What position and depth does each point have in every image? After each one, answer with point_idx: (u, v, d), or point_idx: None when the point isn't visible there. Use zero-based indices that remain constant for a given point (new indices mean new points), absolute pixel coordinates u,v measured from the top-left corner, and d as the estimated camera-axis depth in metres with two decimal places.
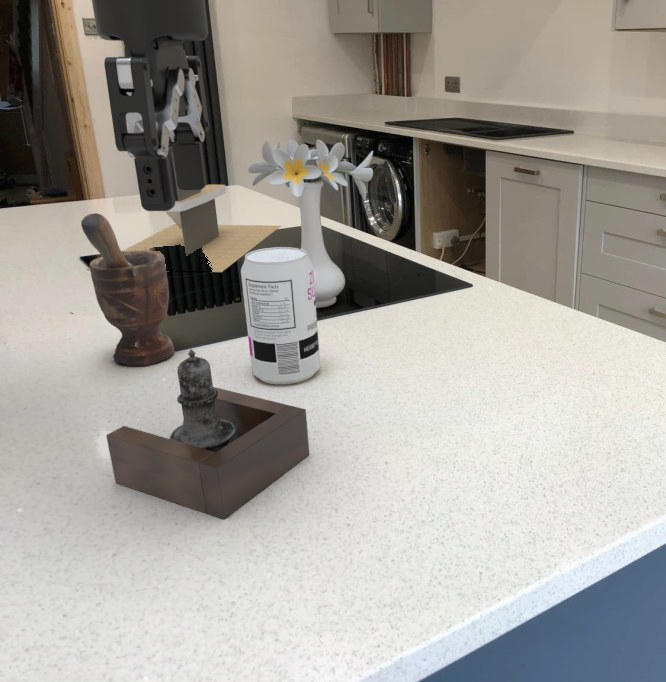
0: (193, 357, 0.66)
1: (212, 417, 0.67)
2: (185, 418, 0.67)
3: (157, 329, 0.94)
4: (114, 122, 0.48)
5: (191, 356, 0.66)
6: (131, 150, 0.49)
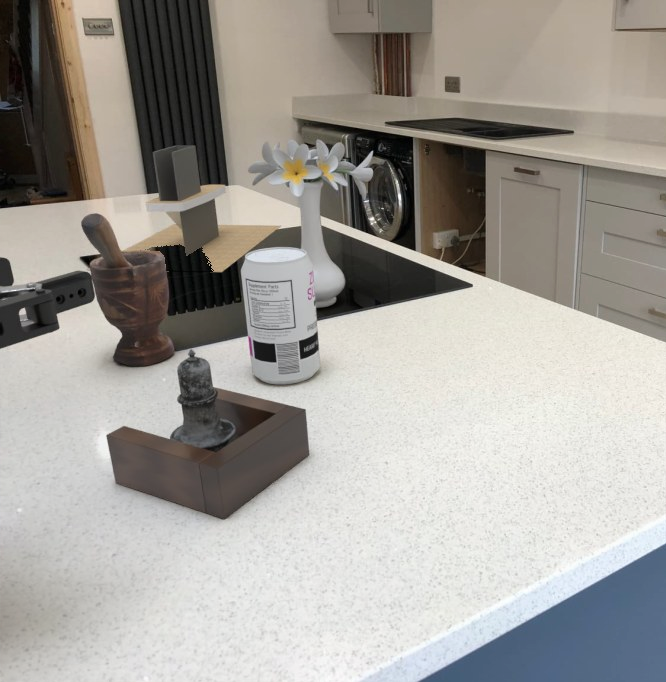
0: (193, 357, 0.66)
1: (212, 417, 0.67)
2: (185, 418, 0.67)
3: (157, 329, 0.94)
4: None
5: (191, 356, 0.66)
6: None
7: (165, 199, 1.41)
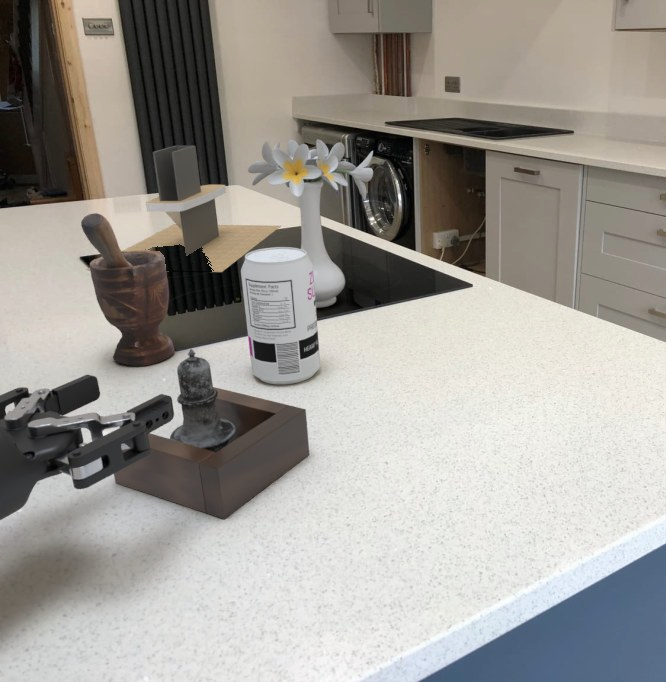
0: (193, 357, 0.66)
1: (212, 417, 0.67)
2: (185, 418, 0.67)
3: (157, 329, 0.94)
4: None
5: (191, 356, 0.66)
6: None
7: (165, 199, 1.41)
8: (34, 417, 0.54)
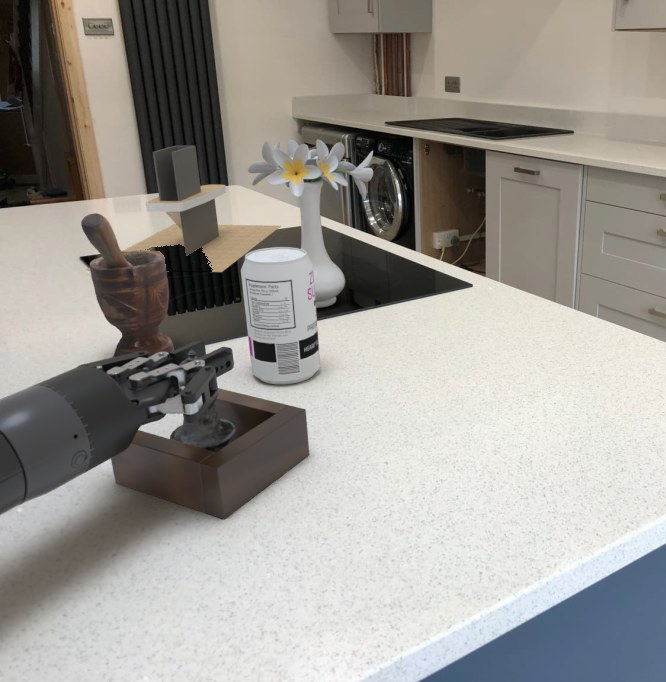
0: (193, 357, 0.66)
1: (212, 417, 0.67)
2: None
3: (157, 329, 0.94)
4: (124, 355, 0.65)
5: (191, 356, 0.66)
6: None
7: (165, 199, 1.41)
8: None
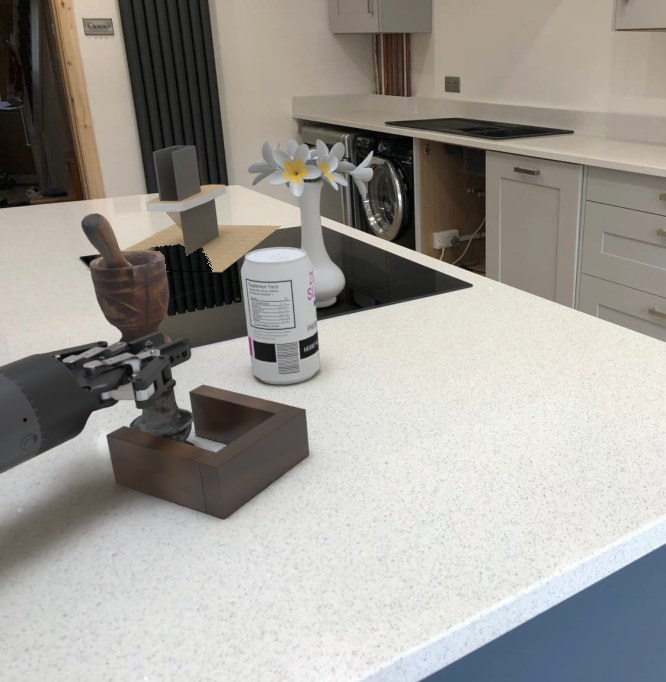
0: (150, 347, 0.68)
1: (170, 405, 0.70)
2: None
3: (157, 329, 0.94)
4: None
5: (148, 346, 0.68)
6: None
7: (165, 199, 1.41)
8: None
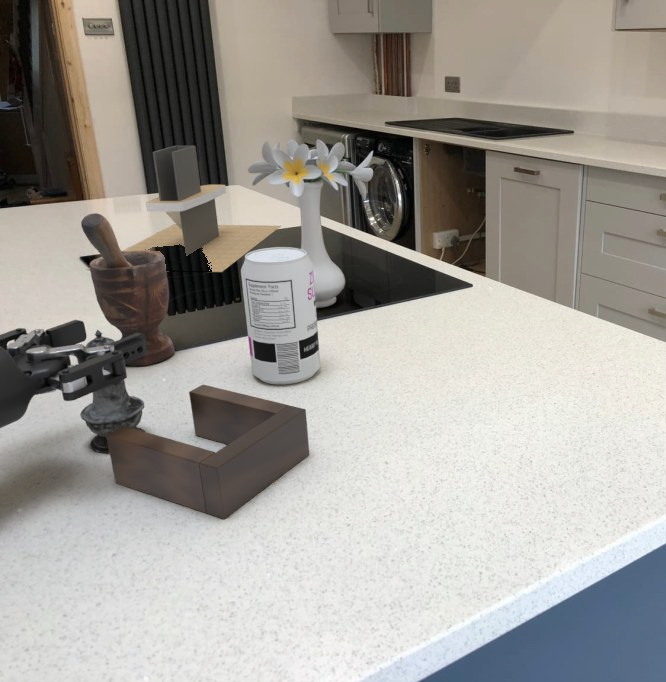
0: (100, 337, 0.70)
1: (120, 393, 0.72)
2: (94, 394, 0.72)
3: (157, 329, 0.94)
4: None
5: (98, 336, 0.70)
6: None
7: (165, 199, 1.41)
8: (31, 348, 0.66)
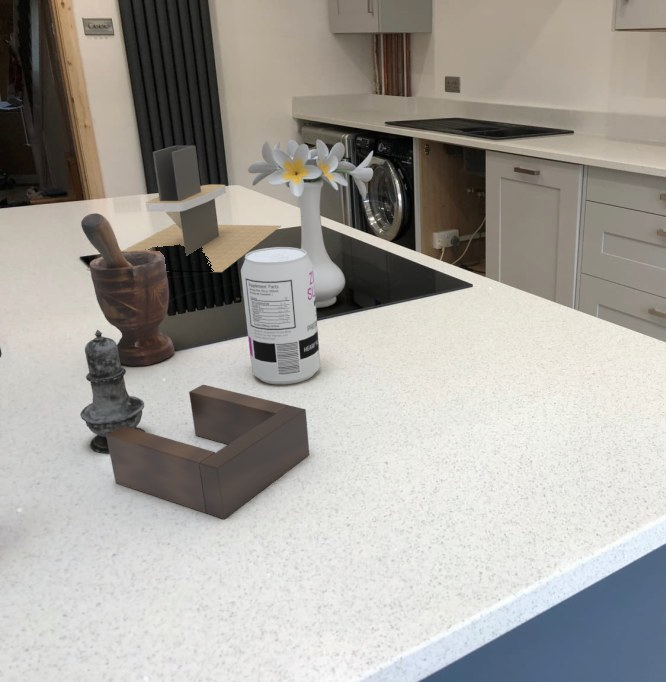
0: (99, 337, 0.70)
1: (120, 393, 0.72)
2: (94, 394, 0.72)
3: (157, 329, 0.94)
4: None
5: (97, 336, 0.70)
6: None
7: (165, 199, 1.41)
8: None
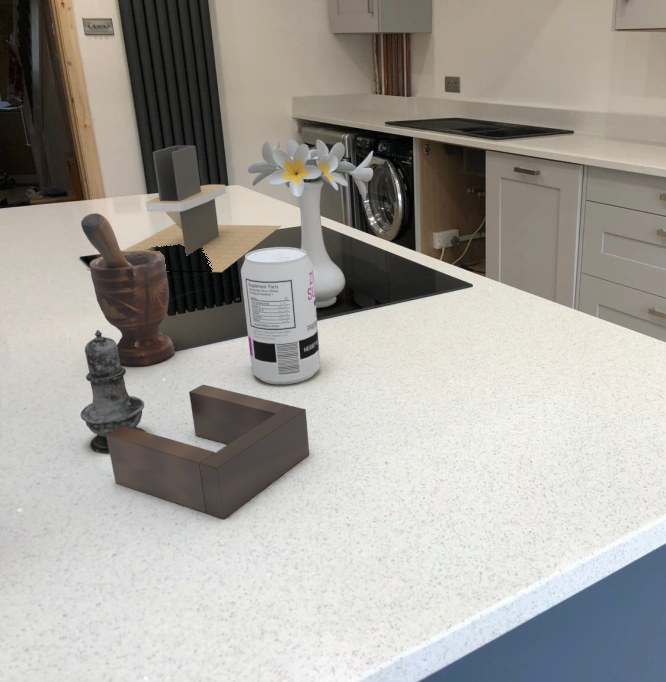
0: (99, 337, 0.70)
1: (120, 393, 0.72)
2: (94, 394, 0.72)
3: (157, 329, 0.94)
4: None
5: (97, 336, 0.70)
6: None
7: (165, 199, 1.41)
8: None
